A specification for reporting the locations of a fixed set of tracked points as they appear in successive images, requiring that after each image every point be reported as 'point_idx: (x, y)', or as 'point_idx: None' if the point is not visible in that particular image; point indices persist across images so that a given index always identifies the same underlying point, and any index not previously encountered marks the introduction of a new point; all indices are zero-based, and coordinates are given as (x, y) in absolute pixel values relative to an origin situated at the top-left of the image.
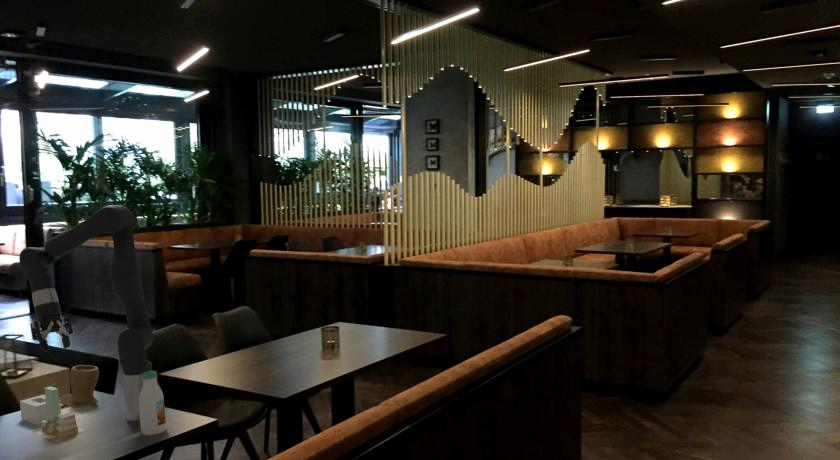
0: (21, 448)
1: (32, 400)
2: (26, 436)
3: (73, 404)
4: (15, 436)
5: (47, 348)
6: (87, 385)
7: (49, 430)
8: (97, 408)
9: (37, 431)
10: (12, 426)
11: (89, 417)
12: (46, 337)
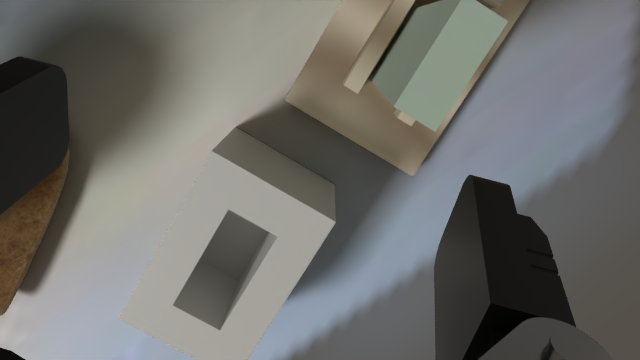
0: (576, 99)
1: (211, 322)
2: (423, 179)
3: (52, 179)
4: (419, 232)
5: (497, 194)
6: None
7: None
8: (25, 55)
9: (424, 129)
10: (292, 330)
11: (163, 13)
12: (497, 344)
